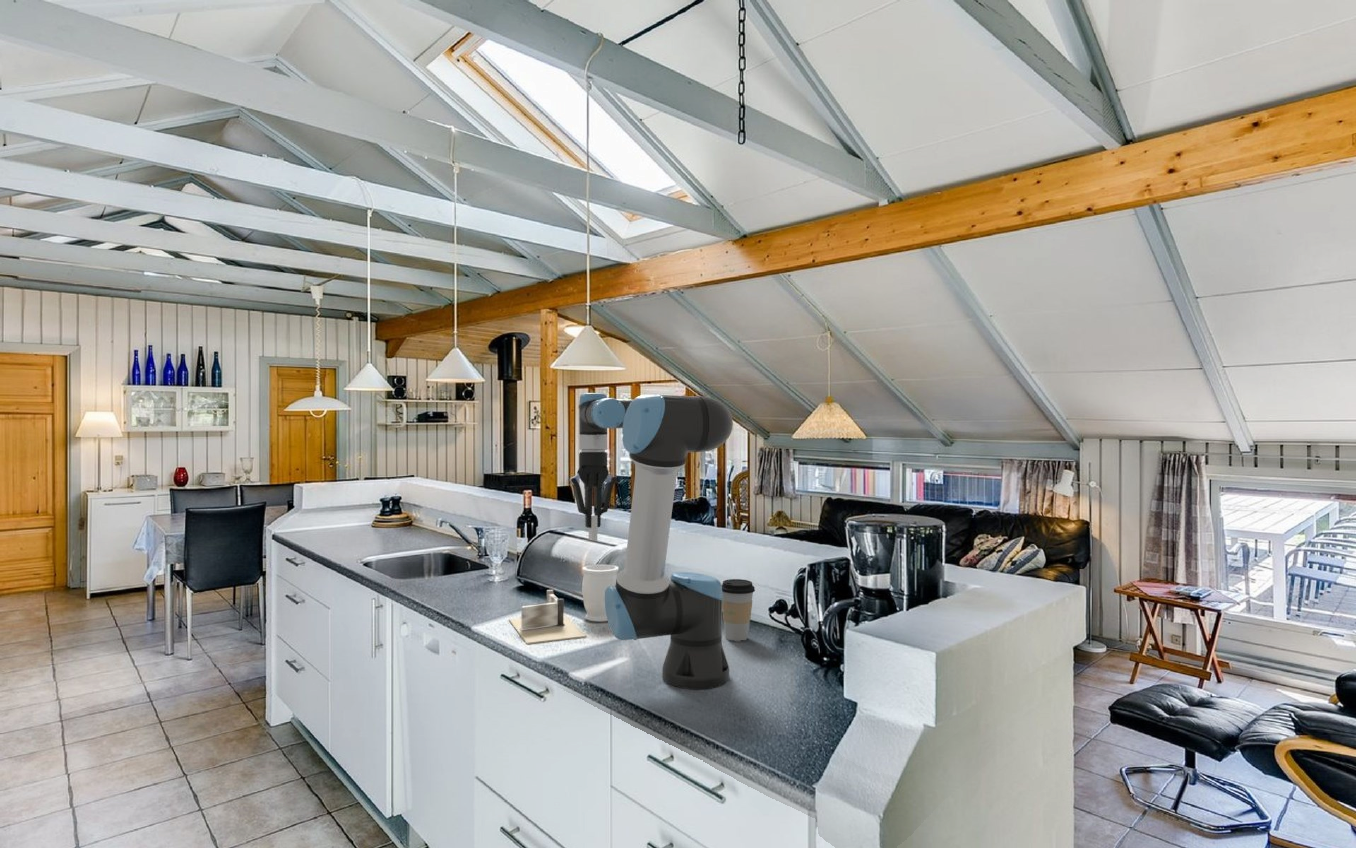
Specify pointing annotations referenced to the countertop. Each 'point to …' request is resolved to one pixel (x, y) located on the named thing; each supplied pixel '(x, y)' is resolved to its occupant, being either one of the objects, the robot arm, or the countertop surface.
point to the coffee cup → (737, 608)
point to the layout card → (548, 632)
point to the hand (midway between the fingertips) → (592, 539)
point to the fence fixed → (552, 600)
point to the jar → (597, 589)
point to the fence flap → (542, 615)
